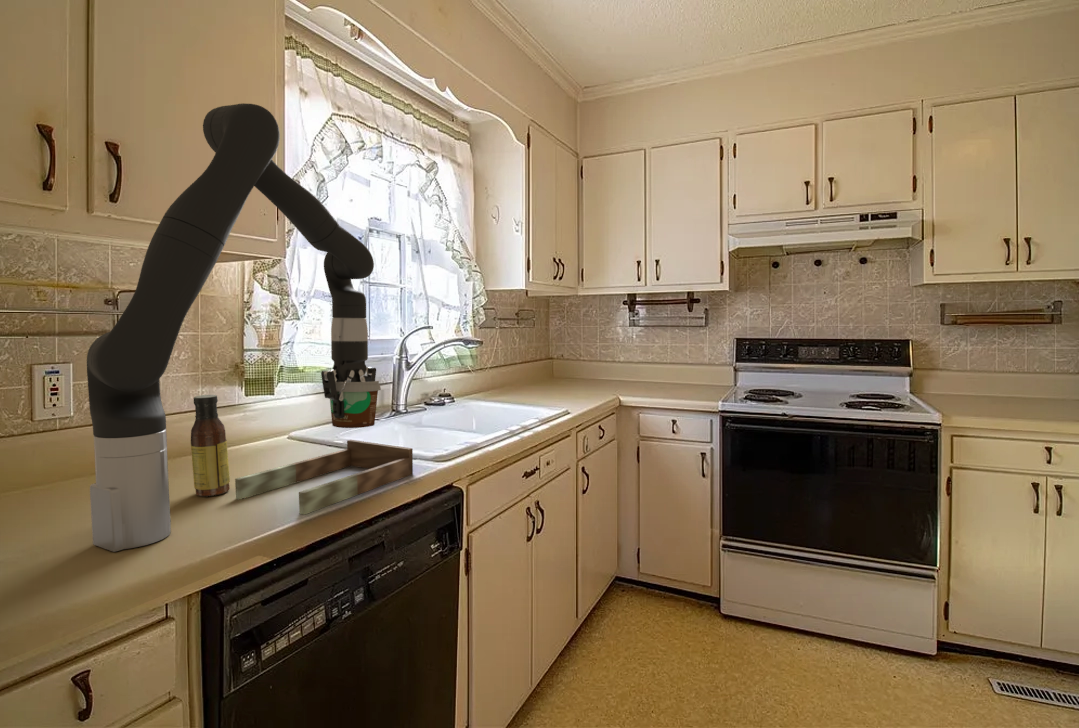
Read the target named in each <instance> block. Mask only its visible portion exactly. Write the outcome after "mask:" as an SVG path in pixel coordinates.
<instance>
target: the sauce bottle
mask: <svg viewBox="0 0 1079 728" xmlns="http://www.w3.org/2000/svg"><path fill="white" fill-rule="evenodd" d="M218 401H219V400H218V395H216V394H202V395H196V396H193V404H194V408H195V416H194V417H195V421H193V422H194V423H193V425H192V427H191V430H190V449H191V451H190V452H191V453H190V454H191V463H192V474H193V475H192V477H193V486H194V489H195V495H196V496H198V497H203V498H209V497H213V496H214V495H215V496H221V495H223V494H226V493H227V492H229V491H230V488H231V487H230V482H231V477H230V476H231V475H230V466H229V456H228V455H229V453H228V441H227V438H226V427H225V425H224V423H223V422H222V421H221V419H220V418H219V414H218V406H217V403H218ZM205 496H206V497H205ZM208 496H209V497H208ZM215 496H214V497H215Z"/></svg>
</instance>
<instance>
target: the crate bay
mask: <svg viewBox="0 0 1079 728" xmlns="http://www.w3.org/2000/svg"><path fill="white" fill-rule="evenodd" d="M346 446H347V447H346V449H341V450H337V451H334V452H330V453H326V454H322V455H318V456H316V457H311V458H307V459H303V460H300V461H297V462H292V463H289V464H285V465H282V466H279V467H274V468H271V469H270V468H269V469H266V470H263V471H258V472H255V473H252V474H248V475H245V476H241V477H237V478H235V479H234V482H235V483H234V487H235V489H234V490H235V499H236V500H239V499H241V500H243V499H242V498H244V499H246V498H245V497H247V498H250V497H253V495H254V496H256V494H257V495H260V494H263V492H264V493H266V491H267V492H270V491H272V490H276V489H279V488H283V487H287V486H289V484H290V485H292V484H295V483H300V482H303V481H306V480H309V479H312V478H316V477H318V476H322V475H325V473H326V474H328V472H329V473H332V472H335V471H338V470H341V469H344V468H348V467H357V468H362V469H363V468H364V469H365V470H363V471H359V472H356V473H354V474H351V475H346V476H345V477H341V478H337V479H334V480H331V481H329V482H326V483H323V484H320V485H316V486H313V487H311V488H307V489H305V490H301V491H299V492H298V510H299V511H298V512H299V513H298V514H300V515H308V514H310V513H314V512H315V511H318V510H321V509H324V508H326V507H328V506H332V505H334V504H336V503H339V502H342V501H344V500H347V499H350V498H353V497H355V496H358V495H361V494H363V493H366V492H369V491H372V490H374V489H377V488H380V487H382V486H384V485H388V484H391V483H393V482H395V481H398V480H400V479H403V478H407V477H409V476H411V475H414V473H413V472H414V468H413V467H414V465H413V464H414V462H413V461H414V460H413V457H414V456H413V448H411V447H405V446H398V445H392V444H384V443H378V442H371V441H364V440H356V439H348V440H346ZM259 493H260V494H259ZM249 496H250V497H249Z"/></svg>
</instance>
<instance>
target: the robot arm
mask: <svg viewBox="0 0 1079 728" xmlns="http://www.w3.org/2000/svg"><path fill="white" fill-rule="evenodd" d="M202 131H203V132H202V133H203V136H204V139H205V142H206V143H207V144H208V146H209V147H210V149H212V151H214V156H213V158H212V160H211V161H210V162H209V165H208V166H207V167H206V168H205V170H204V171H203V172H202V173H201V175H200V176H198V177H197V178H196V179H195V181H194V182H192V184H190V185H189V186H188V187H187V188H186V189H185V190H184V191H183V192H182V193H180V195H179V196H178V197H177V198H176V199H175V200H174V202H173V203H171V205H169V207H168V208H167V210H166V211H165V213H164V215H163V216H162V218H161V221H159V224H158V226H157V228H156V230H155V232H153V236H152V237H151V240H150V241H149V244H148V247H147V249H146V253H145V255H144V259H143V261H142V265H141V269H140V273H139V277H138V281H137V285H136V288H135V291H134V293H133V295H132V297H131V299H130V301H129V303H128V304H127V306H126V308H125V309H124V311H123V312H122V314H121V315H120V317H119V319H118V320H117V322H116V323H115V325H114V326H113V328H112V329H111V330H110V331H108V332H106V333H103V334H101V335H100V336H98V337H97V338H96V339H95V340H94V341H93V342H92V343H91V345H90V346H89V348H88V350H87V354H86V355H87V356H86V377H87V378H86V379H87V391H88V403H89V413H90V418H91V419H90V420H91V423H92V436H93V448H94V449H93V450H94V467H95V468H94V469H95V470H94V471H95V483H92V484H90V485H89V495H90V496H89V497H90V515H91V532H92V533H91V534H92V545H94V546H96V547H99V548H102V549H105V550H107V551H110V552H113V553H115V552H118V551H122V550H127V549H133V548H138V547H144V546H148V545H150V544H154V543H157V542H159V541H161V540H163V539H165V538H167V537H168V536H170V534H171V532H172V529H171V528H172V527H171V525H172V523H171V522H172V521H171V509H170V508H171V506H170V505H171V504H170V485H169V482H170V481H169V460H168V439H167V438H168V437H167V436H168V435H167V434H168V433H167V419H166V418H167V417H166V416H167V415H166V412H165V409H164V407H163V406H164V405H163V403H162V397H161V384H160V379H161V378H162V377H163V376H164V373H165V372H166V369H167V367H168V364H169V362H170V360H171V356H172V353H173V350H174V347H175V344H176V341H177V339H178V336H179V333H180V331H181V328H182V325H183V323H184V320H185V318H186V316H187V314H188V312H189V310H190V308H191V306H192V305H193V304H194V302H195V300H196V299H197V297H198V295H199V293H200V292H201V291H202V289H203V287H204V286H205V283H206V282H207V279H208V277H209V276H210V274H211V272H212V271H213V270H214V267H215V265H216V263H217V262H218V260H219V257H220V255H221V253H222V252H223V249H224V248H225V245H226V243H227V240H228V238H229V236H230V234H231V231H232V230H233V227H234V225H235V224H236V222H237V220H238V218H239V216H240V214H241V212H242V210H243V208H244V205H245V203H246V201H247V199H248V197H249V195H250V194H251V192H252V190H253V189H254V187H255V188H256V189H257V191H259V192H260V193H261V194H262V195H264V197H265V198H267V199H268V200H269V201H270V202H271V203H272V204H273V205H274V206H275V207H276V208H277V210H279V211H280V212H281V213H282V214H283V215H284V216H285V217H286V219H288V221H289V222H290V223H291V224H292V225H293V226H294V227H295V229H296V230H297V231H298V232H299V233H300V234H301V235H302V236H303V237H304V239H305V240H306V241H307V243H309V244H310V245H311V246H312V247H313V248H314V249H315V250H318V251H321V252H323V253H324V252H325V253H326V254H325V256H324V260H323V271H324V275H325V279H326V283H327V287H328V290H329V292H330V296H331V297H330V298H331V315H332V316H331V318H332V319H331V327H330V330H331V331H330V332H331V333H330V336H331V337H330V338H331V339H330V344H331V345H330V346H331V351H330V352H331V357H330V358H331V361H332V362H333V366H332V369H330V370H322V371H321V372H320V374H321V375H320V376H321V380H322V383H321V384H322V390H323V395H324V398H325V399H329V400H330V399H332V401H333V414H334V416H335V418H344V401H343V399H344V396H345V395H344V392H342V390H344V389H345V386H344V387H343V388H342V390H341V391H340V393H339V395H338V394H337V390H336V384H335V381H336V382H345V383H344V385H346V384H347V382H372V381H376V376H377V375H376V374H377V368H376V367H373V366H372V367H371V366H367V365H366V362H367V361H368V359H369V354H368V353H369V350H368V349H369V346H368V345H369V344H368V343H369V341H368V338H369V336H368V335H369V333H368V322H367V297H366V294H364V293H363V292H362V291H359V290H355V289H354V286H353V283H352V280H362V279H365V278H368V277H370V276H371V275H372V273H373V271H374V266H375V263H374V258H373V256H372V253H371V252H370V250H369V249H368V247H367V246H366V245H365V244H364V243H363V242H362V241H360V240H359V239H358V238H357V237H355V236H354V235H353V234H352V233H350V232H349V231H348V230H346V229H345V228H344V227H342V226H341V224H340V223H339V222H338V221H337V220H336V219H335V217H334V216H333V215H332V214H331V213H330V211H329V210H328V209H327V207H326V206H325V205H324V204H323V203H322V202H321V200H319V199H318V198H317V197H316V196H315V195H314V194H312V193H311V192H310V191H309V190H307V189H306V188H305V187H304V186H302V185H301V184H300V183H298V182H297V181H296V180H294V179H293V178H292V177H290V175H288V174H287V173H286V172H285V171H284V170H282V169H281V168H280V167H279V165H277V164H276V163H275V161H274V160H273V158H274V156H275V155H276V153H277V151H278V148H279V145H280V139H281V138H280V136H281V133H280V127H279V124H278V122H277V120H276V118H275V116H274V115H273V113H272V112H271V111H269V110H268V109H267V108H265V107H264V106H262V105H259V104H254V103H242V102H241V103H236V104H230V105H221V106H217V107H215V108H213V109H211V110H210V111H208V112H207V113H206V114H205V117H204V119H203V121H202ZM330 392H331V393H330Z"/></svg>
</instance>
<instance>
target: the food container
mask: <svg viewBox="0 0 1079 728" xmlns="http://www.w3.org/2000/svg"><path fill="white" fill-rule="evenodd" d="M344 383H345V382H336V381H335V384H336V390H337V394H338V395H339V393H340V391H341V390H342V388H343V387H344V386H345V389H344V390H342V392H344V395H345V396H344V399H343V401H344V418H335V416H334V414H333V401H332V399H329V403H330V416H331V417H330V418H331V425H332V427H334V428H341V429H358V428H360V429H361V428H368V427H369V428H370V427H372V426H373V427H374V426H375V424H376V423H375V422H376V413H377V403H378V402H377V401H378V395H379V394H378V393H379V391H381V384H380V380H375V381H372V382H347V384H346V385H344ZM330 393H331V392H330Z"/></svg>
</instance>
